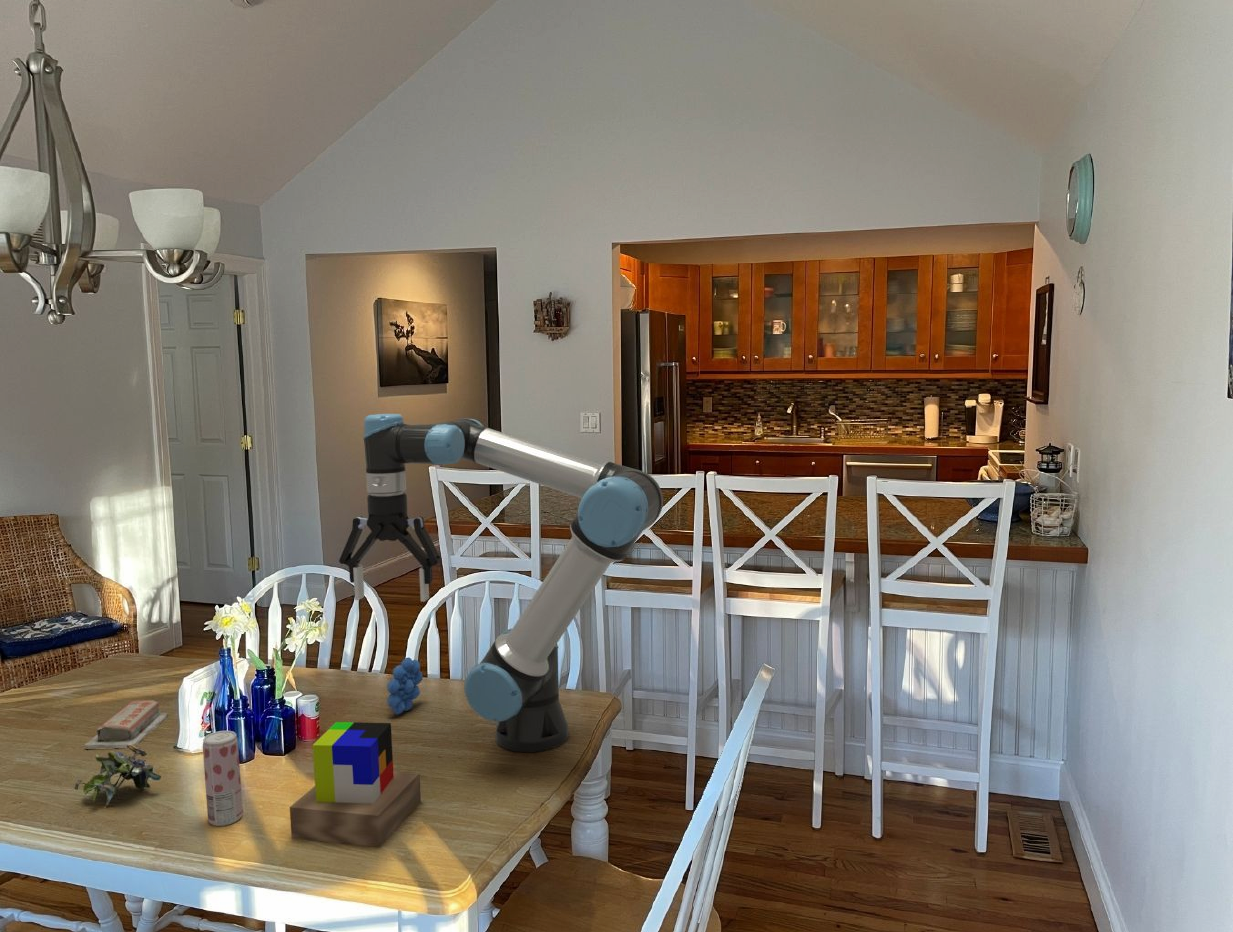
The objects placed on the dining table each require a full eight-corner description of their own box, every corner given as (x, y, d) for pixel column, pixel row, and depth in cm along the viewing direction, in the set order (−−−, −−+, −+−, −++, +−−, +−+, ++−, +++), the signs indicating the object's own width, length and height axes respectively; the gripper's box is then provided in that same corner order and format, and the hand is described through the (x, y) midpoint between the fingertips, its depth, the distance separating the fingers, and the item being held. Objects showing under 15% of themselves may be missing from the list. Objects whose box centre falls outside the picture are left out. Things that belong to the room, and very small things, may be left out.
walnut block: (421, 804, 171) (419, 773, 170) (379, 850, 156) (378, 815, 155) (339, 797, 175) (338, 766, 174) (291, 841, 159) (289, 807, 158)
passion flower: (141, 816, 179) (176, 765, 178) (99, 834, 168) (136, 780, 167) (100, 778, 181) (134, 728, 180) (56, 794, 170) (92, 740, 170)
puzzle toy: (373, 803, 159) (370, 746, 158) (316, 801, 160) (312, 745, 159) (393, 776, 169) (390, 722, 168) (339, 775, 170) (336, 721, 169)
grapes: (406, 699, 222) (404, 649, 220) (430, 703, 219) (428, 652, 218) (374, 717, 211) (371, 664, 210) (398, 721, 209) (396, 668, 207)
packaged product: (122, 698, 214) (167, 696, 215) (124, 719, 215) (169, 717, 215) (82, 729, 196) (132, 727, 197) (84, 752, 197) (133, 750, 197)
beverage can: (248, 810, 169) (242, 729, 167) (236, 826, 163) (230, 742, 161) (215, 811, 169) (209, 730, 167) (202, 827, 163) (196, 743, 161)
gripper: (318, 495, 184) (324, 602, 187) (441, 496, 180) (446, 605, 183) (335, 490, 192) (341, 593, 194) (454, 490, 188) (458, 595, 190)
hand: (392, 599), depth 189 cm, fingers open, 13 cm apart
